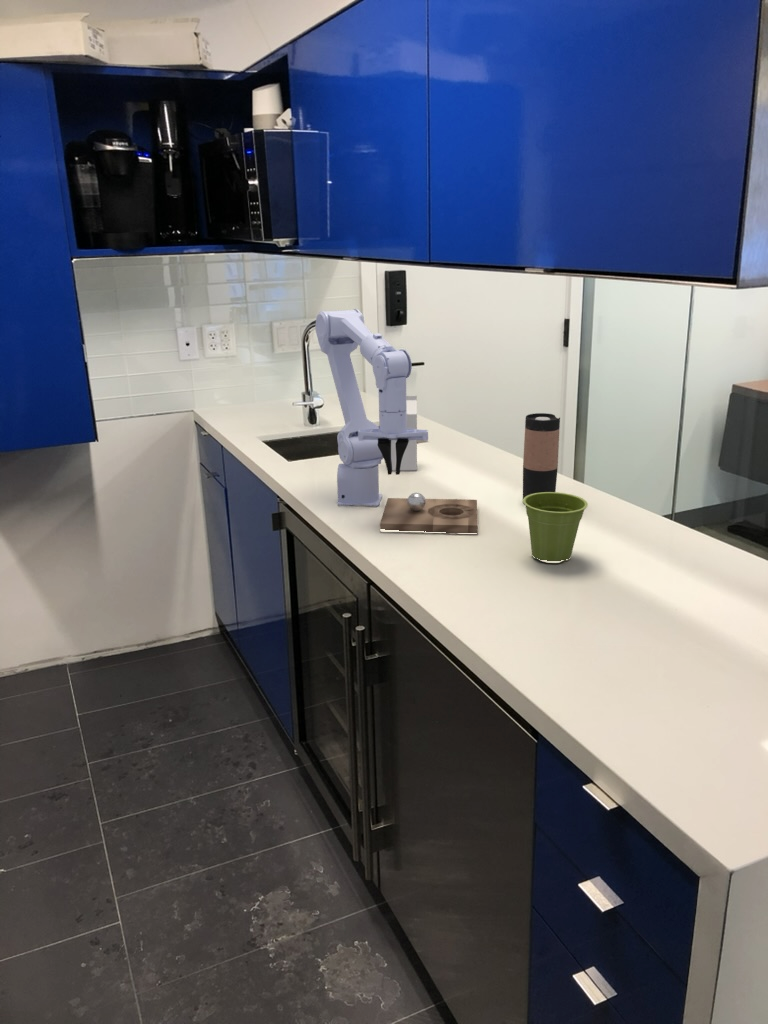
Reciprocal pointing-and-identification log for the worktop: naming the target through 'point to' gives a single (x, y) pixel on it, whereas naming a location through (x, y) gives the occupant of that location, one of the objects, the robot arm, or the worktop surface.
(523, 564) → the worktop surface
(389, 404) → the robot arm
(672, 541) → the worktop surface
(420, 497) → the ball
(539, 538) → the plant pot
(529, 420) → the travel mug
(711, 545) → the worktop surface
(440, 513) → the deck
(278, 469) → the worktop surface
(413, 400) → the milk carton
